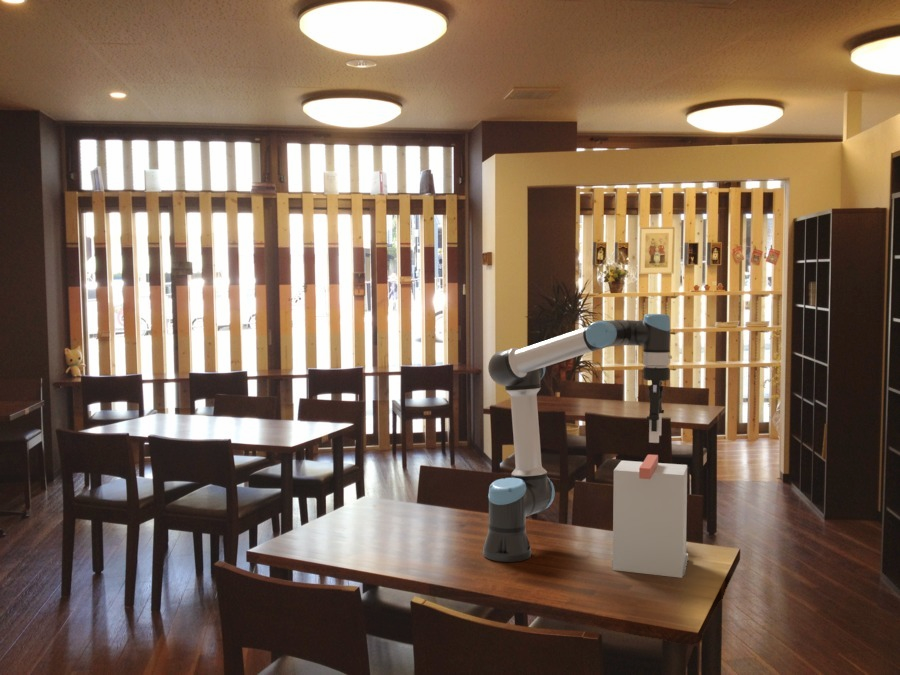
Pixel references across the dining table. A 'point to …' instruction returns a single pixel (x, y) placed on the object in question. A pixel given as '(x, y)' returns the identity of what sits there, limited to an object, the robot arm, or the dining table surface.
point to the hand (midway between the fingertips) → (655, 438)
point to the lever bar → (648, 467)
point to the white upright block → (650, 520)
